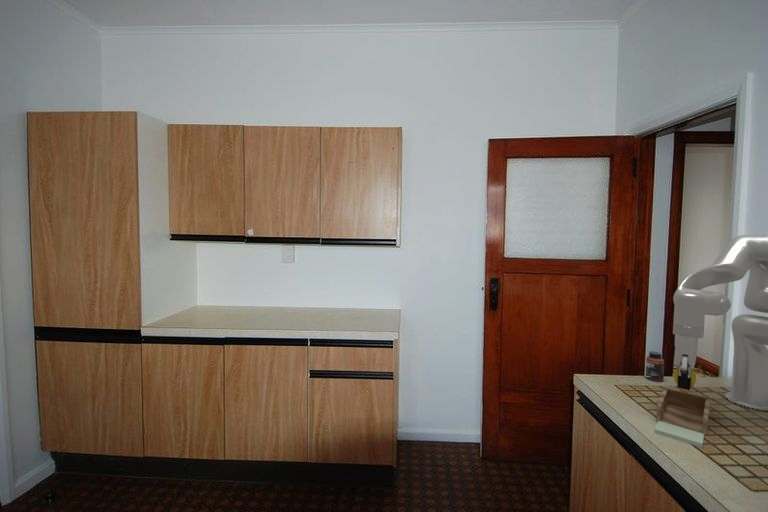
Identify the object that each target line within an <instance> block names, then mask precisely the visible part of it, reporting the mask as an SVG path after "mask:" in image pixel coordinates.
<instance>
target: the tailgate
mask: <svg viewBox="0 0 768 512" xmlns="http://www.w3.org/2000/svg"><path fill="white" fill-rule="evenodd" d="M654 434H658V435H661V436H664V437H667V438H670V439H673V440H676V441H680V442H683V443H687V444H689V445H692V446H696V447H699V448H703V446H704V439H705V435H704V434H703V433H699V432H696V431H692V430H689V429H685V428H682V427H679V426H675V425H672V424H668V423H665V422H661V421H658V422H657V423H656V426H655V427H654Z"/></svg>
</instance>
